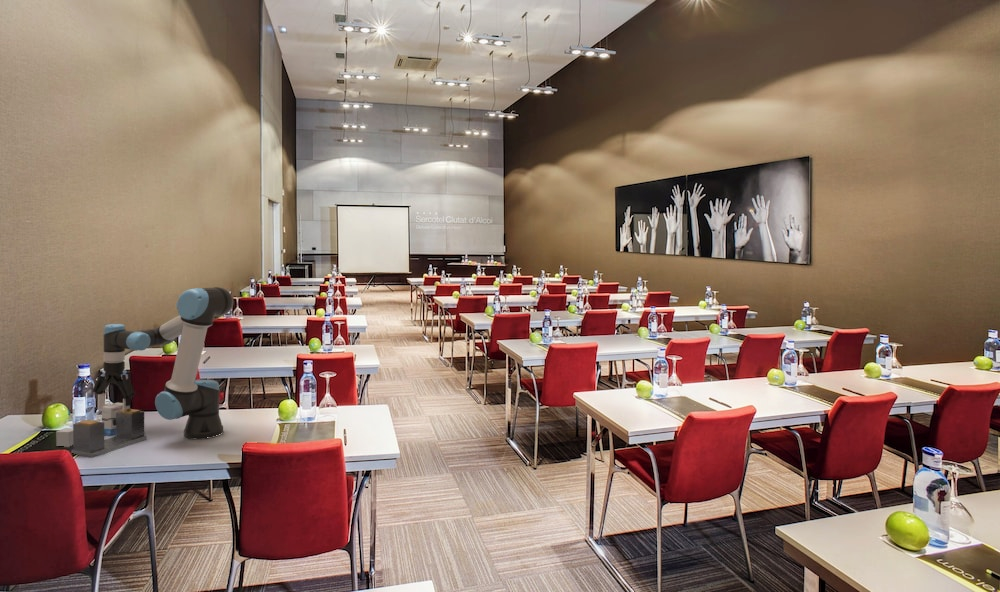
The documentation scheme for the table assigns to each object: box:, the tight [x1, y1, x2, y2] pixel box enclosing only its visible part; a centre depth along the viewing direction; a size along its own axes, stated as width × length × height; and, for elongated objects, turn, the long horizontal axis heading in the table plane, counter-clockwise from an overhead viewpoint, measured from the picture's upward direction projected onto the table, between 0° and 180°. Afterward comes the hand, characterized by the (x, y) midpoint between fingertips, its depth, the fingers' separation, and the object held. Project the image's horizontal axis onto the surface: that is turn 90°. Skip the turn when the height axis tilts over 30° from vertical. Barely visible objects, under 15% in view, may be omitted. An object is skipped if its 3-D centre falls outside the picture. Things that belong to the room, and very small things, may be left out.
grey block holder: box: [71, 408, 147, 458], centre depth 241 cm, size 10×24×12 cm, turn 163°
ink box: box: [101, 402, 123, 436], centre depth 258 cm, size 8×5×12 cm, turn 168°
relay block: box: [55, 427, 73, 448], centre depth 241 cm, size 5×5×6 cm
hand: (113, 411), depth 258 cm, fingers open, 13 cm apart
